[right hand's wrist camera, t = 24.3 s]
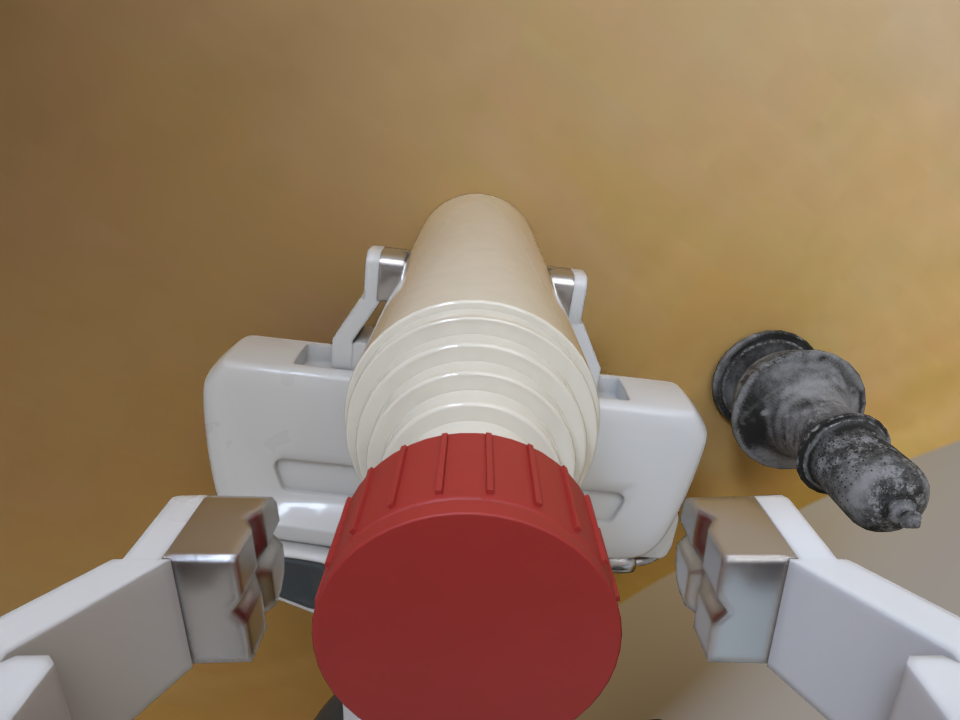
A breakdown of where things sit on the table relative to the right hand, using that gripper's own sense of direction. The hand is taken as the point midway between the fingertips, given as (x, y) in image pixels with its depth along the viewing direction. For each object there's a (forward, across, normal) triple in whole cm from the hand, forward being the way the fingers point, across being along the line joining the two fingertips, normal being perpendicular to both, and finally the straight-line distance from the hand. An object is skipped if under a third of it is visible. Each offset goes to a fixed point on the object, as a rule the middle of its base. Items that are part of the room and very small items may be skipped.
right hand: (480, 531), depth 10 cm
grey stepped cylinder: (+21, -14, +6) cm, 26 cm away
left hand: (+16, 0, -1) cm, 16 cm away
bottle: (+21, 0, 0) cm, 21 cm away
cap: (-2, 0, 0) cm, 2 cm away
